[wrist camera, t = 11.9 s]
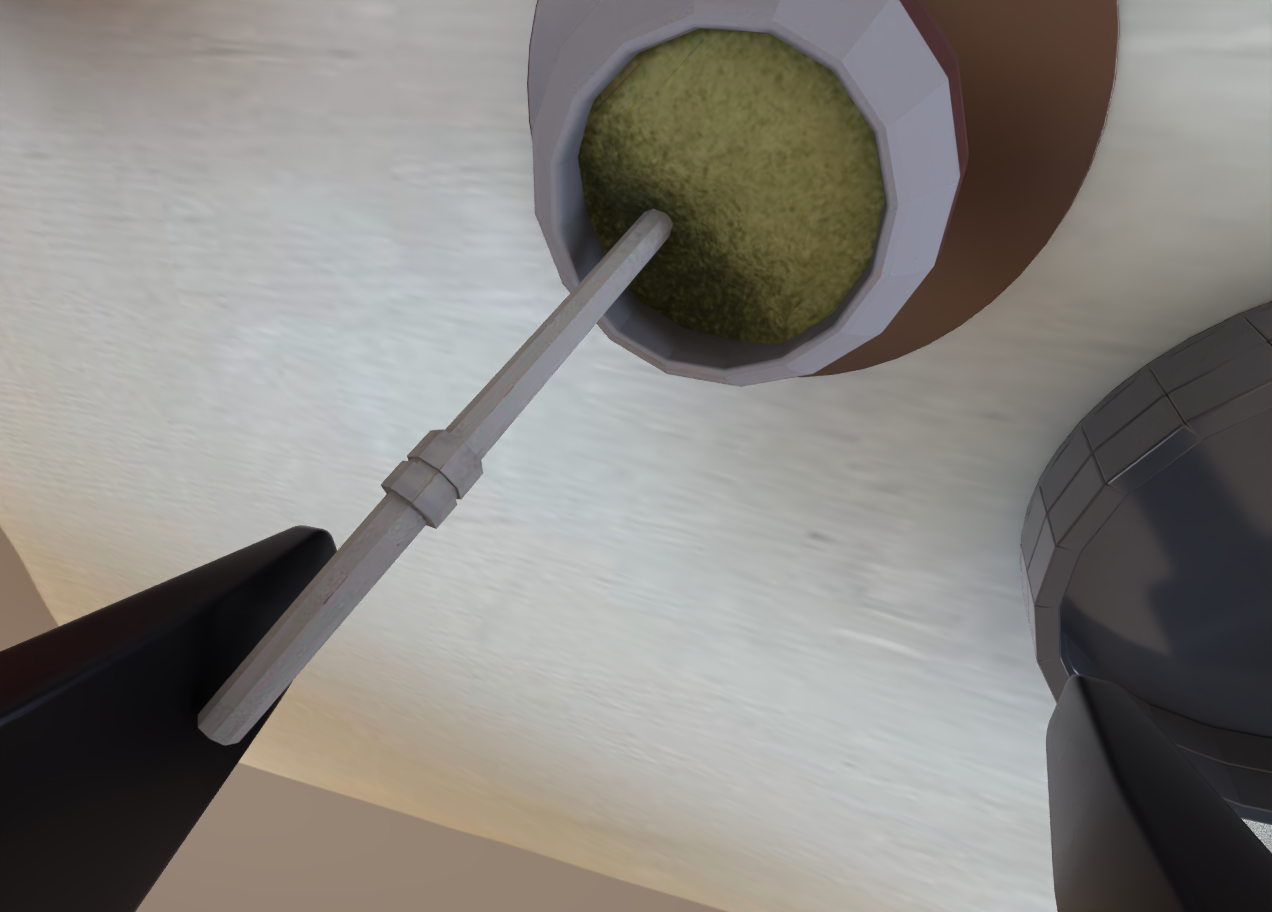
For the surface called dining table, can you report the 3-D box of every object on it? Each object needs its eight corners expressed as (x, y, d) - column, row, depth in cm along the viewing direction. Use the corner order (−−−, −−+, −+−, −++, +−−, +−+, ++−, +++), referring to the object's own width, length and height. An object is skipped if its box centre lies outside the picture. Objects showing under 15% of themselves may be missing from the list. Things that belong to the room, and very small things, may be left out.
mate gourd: (992, -57, 14) (1575, -189, 2) (891, 322, 18) (885, 974, 7) (621, -75, 15) (-288, -209, 4) (612, 279, 20) (196, 743, 8)
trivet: (1023, 394, 19) (1026, 401, 18) (559, 350, 22) (554, 355, 22) (1226, -315, 12) (1235, -324, 11) (499, -220, 15) (490, -224, 15)
